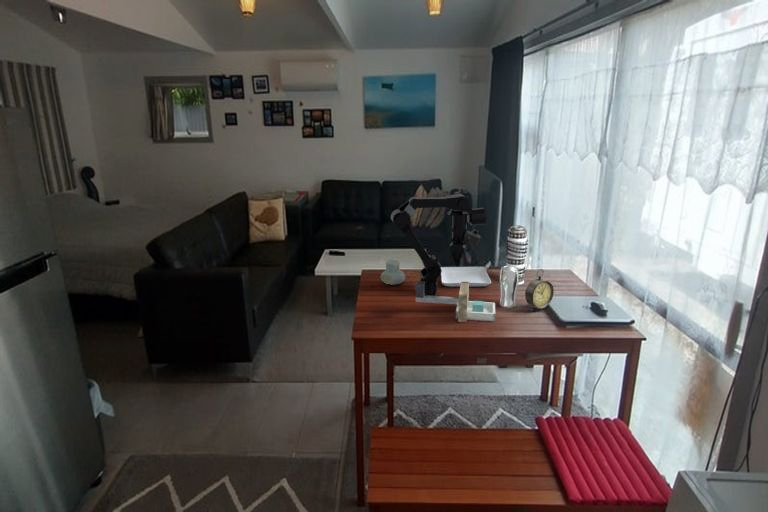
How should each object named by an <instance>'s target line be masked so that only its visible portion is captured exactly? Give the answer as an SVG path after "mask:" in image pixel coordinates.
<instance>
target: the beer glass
mask: <svg viewBox="0 0 768 512" xmlns="http://www.w3.org/2000/svg"><path fill="white" fill-rule="evenodd" d="M518 270H519V269H518V268H517V267H513V266H506V265H504V266H501V268H500V272H499V286H500V287H499V288H500V300H499V306H501V307H502V308H508V309H511V308H514V307H516V293H517V289H518V286H519V285H518V279H519V272H518Z"/></svg>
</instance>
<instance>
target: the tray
mask: <svg viewBox="0 0 768 512" xmlns="http://www.w3.org/2000/svg"><path fill="white" fill-rule="evenodd" d="M473 301H474V300H468V303H467V321H478V320H479V321H481V322H493V323H494V322H495V321H496V303H495V302H489V301H484V309H483V312H472V307H473ZM458 311H459V304H456V309H455V319H456V320H458Z"/></svg>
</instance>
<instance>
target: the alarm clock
mask: <svg viewBox="0 0 768 512" xmlns="http://www.w3.org/2000/svg"><path fill="white" fill-rule="evenodd" d="M540 270H541V271H542V273H541V275H539V274H538V273H539V271H540ZM543 275H544V270H543V268H539V269H538V270H537V272H536V277H537V278H534V279H533V280H531V281H529V283H528V284H527V286H526V289H525V293H524V296H525V297H524V298H525V301H526V303H527V304H528V305H529V306H531V309H530V311H529V312H530V313H533V310H534V308H535V309H539V310H541V309H544V308H546V307H547V305H548V306H549V304H551V302H552V300H553V298H554V293H555V291H554V290H555V289H554V286H553V284H552V283H551V281H549V280H546V279H543V278H542V276H543Z"/></svg>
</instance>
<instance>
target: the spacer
mask: <svg viewBox="0 0 768 512" xmlns="http://www.w3.org/2000/svg"><path fill="white" fill-rule="evenodd" d="M472 301H473V307H472V312H483V309H484V302H485V301H483V300H472Z"/></svg>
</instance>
